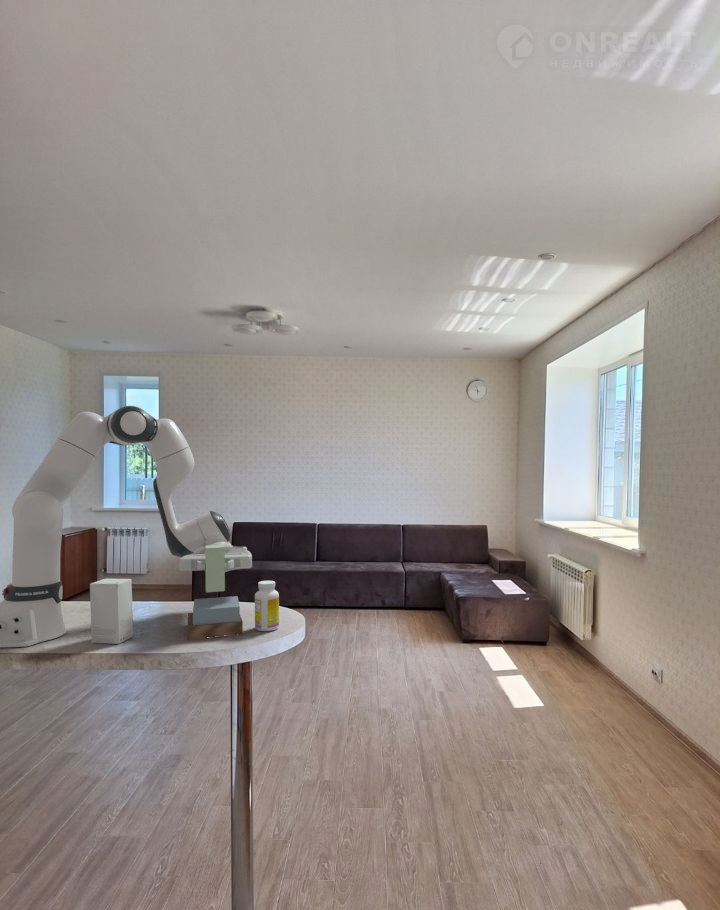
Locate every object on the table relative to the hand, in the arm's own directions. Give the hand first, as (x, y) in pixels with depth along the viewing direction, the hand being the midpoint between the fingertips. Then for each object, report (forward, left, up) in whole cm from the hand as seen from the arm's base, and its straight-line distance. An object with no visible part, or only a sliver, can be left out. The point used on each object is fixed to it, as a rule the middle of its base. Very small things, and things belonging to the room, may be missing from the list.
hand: (214, 566), depth 148 cm
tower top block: (0, +1, -14) cm, 14 cm away
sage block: (0, +1, -6) cm, 7 cm away
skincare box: (-26, 0, -18) cm, 32 cm away
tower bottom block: (0, +1, -18) cm, 18 cm away
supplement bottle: (+14, -2, -18) cm, 23 cm away
